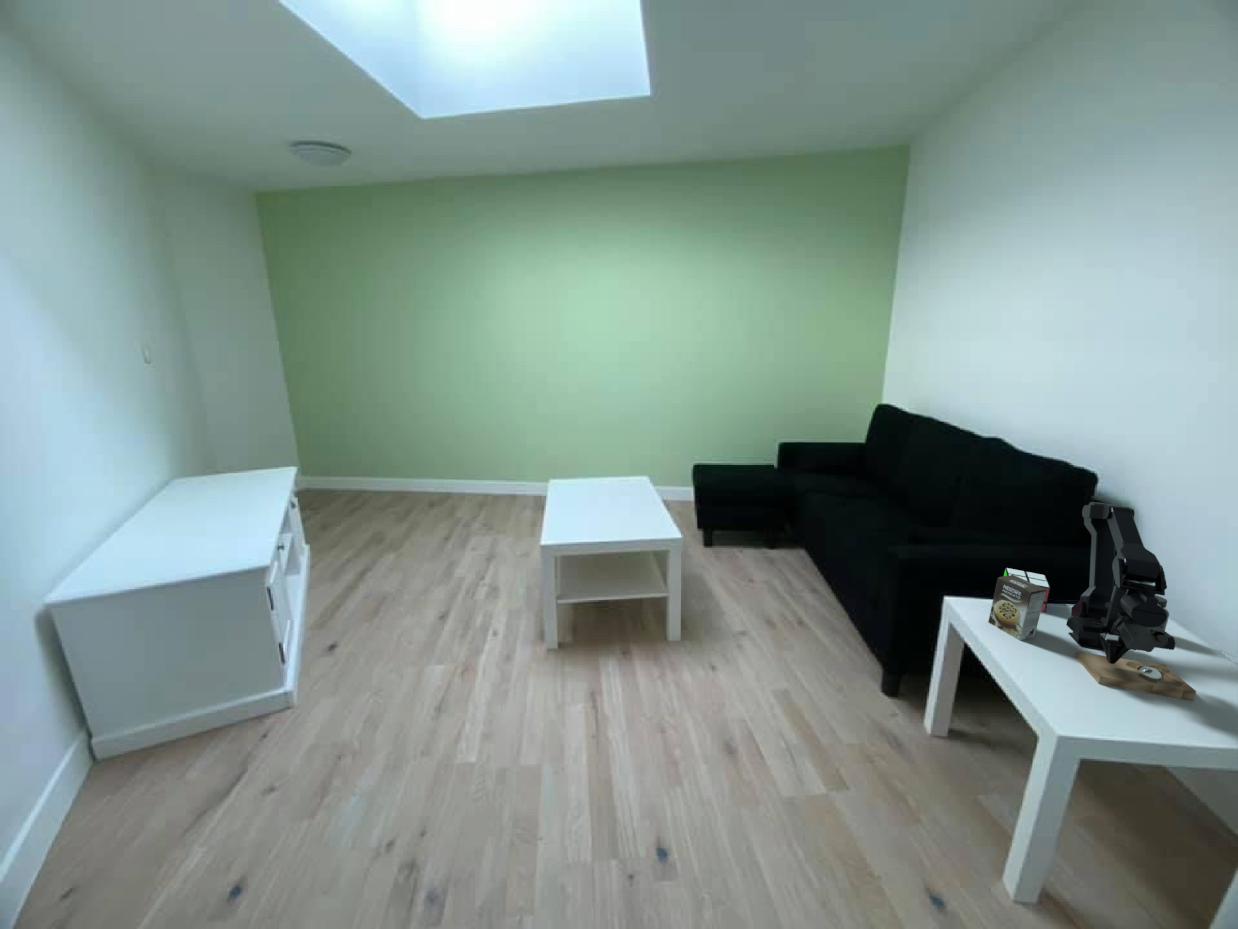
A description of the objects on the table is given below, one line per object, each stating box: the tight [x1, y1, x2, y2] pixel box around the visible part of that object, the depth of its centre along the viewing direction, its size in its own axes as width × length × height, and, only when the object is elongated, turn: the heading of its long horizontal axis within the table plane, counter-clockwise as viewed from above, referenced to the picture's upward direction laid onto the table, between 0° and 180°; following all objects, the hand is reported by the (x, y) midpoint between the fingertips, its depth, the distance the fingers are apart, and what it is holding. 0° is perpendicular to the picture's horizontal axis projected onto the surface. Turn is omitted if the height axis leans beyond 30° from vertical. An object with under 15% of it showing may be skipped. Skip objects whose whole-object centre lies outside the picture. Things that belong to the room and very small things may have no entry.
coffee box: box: [988, 575, 1046, 641], centre depth 139 cm, size 9×6×16 cm
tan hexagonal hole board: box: [1075, 651, 1197, 701], centre depth 122 cm, size 18×10×2 cm, turn 73°
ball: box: [1139, 667, 1162, 681], centre depth 121 cm, size 4×4×4 cm
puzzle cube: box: [1003, 567, 1052, 614], centre depth 154 cm, size 10×10×10 cm
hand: (1110, 662), depth 123 cm, fingers closed
